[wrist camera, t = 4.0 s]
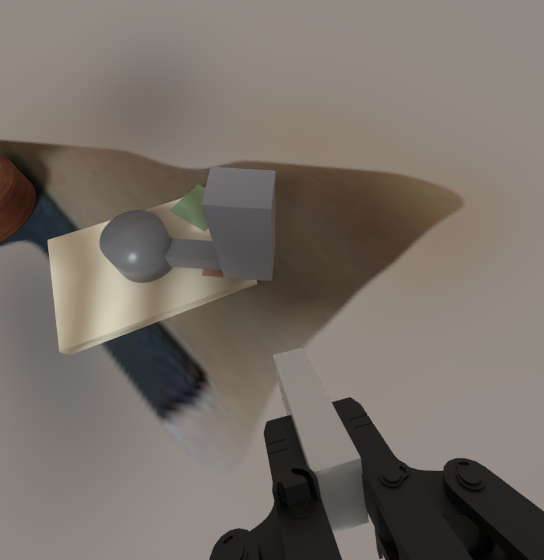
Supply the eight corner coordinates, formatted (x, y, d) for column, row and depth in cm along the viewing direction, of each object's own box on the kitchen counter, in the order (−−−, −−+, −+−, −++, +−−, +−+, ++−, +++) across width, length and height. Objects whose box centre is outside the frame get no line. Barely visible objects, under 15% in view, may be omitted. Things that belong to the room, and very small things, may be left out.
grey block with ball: (110, 280, 26) (33, 207, 18) (128, 231, 28) (67, 146, 20) (270, 293, 25) (269, 223, 17) (276, 242, 27) (276, 159, 19)
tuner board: (68, 355, 24) (58, 351, 23) (54, 238, 29) (46, 230, 28) (265, 281, 27) (265, 274, 26) (221, 185, 32) (219, 177, 31)
